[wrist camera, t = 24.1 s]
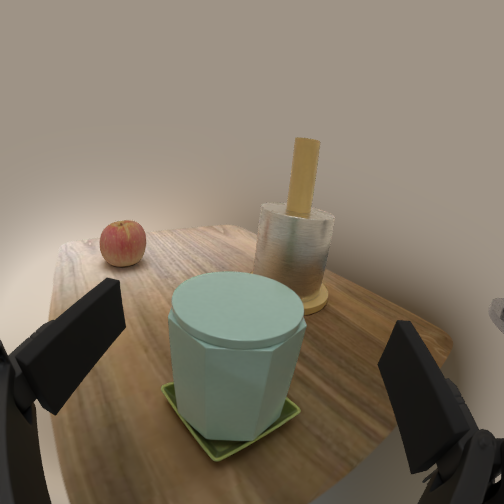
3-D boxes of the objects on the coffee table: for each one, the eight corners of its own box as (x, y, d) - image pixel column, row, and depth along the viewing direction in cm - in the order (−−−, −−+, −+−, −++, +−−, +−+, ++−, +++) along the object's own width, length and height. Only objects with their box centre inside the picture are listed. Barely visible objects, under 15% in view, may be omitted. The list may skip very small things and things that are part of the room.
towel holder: (338, 316, 38) (374, 148, 30) (243, 313, 36) (264, 127, 28) (314, 276, 51) (335, 148, 43) (240, 271, 50) (255, 136, 41)
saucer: (161, 399, 21) (158, 385, 20) (238, 369, 26) (239, 355, 25) (214, 472, 15) (214, 463, 14) (297, 423, 20) (303, 410, 19)
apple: (151, 269, 46) (150, 225, 43) (104, 276, 41) (100, 230, 38) (140, 252, 52) (140, 214, 50) (99, 258, 47) (96, 218, 44)
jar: (283, 440, 16) (319, 341, 13) (174, 436, 15) (157, 333, 12) (271, 370, 24) (290, 275, 20) (185, 365, 23) (183, 267, 20)
